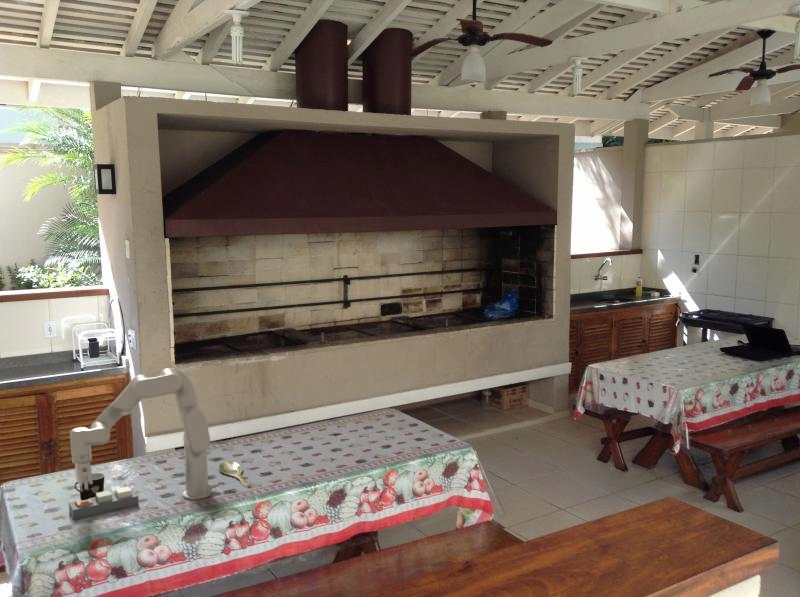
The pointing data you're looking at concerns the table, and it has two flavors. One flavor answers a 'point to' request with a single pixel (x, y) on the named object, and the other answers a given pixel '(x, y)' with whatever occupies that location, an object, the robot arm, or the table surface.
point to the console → (103, 506)
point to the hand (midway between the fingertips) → (84, 499)
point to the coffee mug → (95, 484)
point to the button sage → (103, 496)
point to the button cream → (123, 492)
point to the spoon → (232, 466)
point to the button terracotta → (83, 503)
